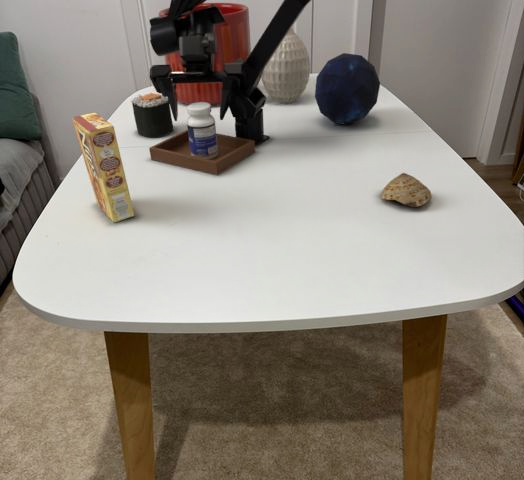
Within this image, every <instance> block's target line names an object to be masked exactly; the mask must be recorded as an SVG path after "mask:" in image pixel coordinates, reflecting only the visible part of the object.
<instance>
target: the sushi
mask: <svg viewBox="0 0 524 480" xmlns="http://www.w3.org/2000/svg"><path fill="white" fill-rule="evenodd" d="M130 102H131V105H132V110H133V116H134V121H135V126H136V130H137V134H138V135H139V136H142V137H145V138H148V139H156V138H157V139H158V138H162V137H165V136H167V135H170V134H172V133H173V132H174V124H173V118H172V110H171V107H170V104H169V100H168V97H164V96H163V95H162V94H160V93H152V92H151V93H150V92H149V93H147V94H144V95H141V94H138V95H137V96H135V97H133V98H131V100H130Z"/></svg>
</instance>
